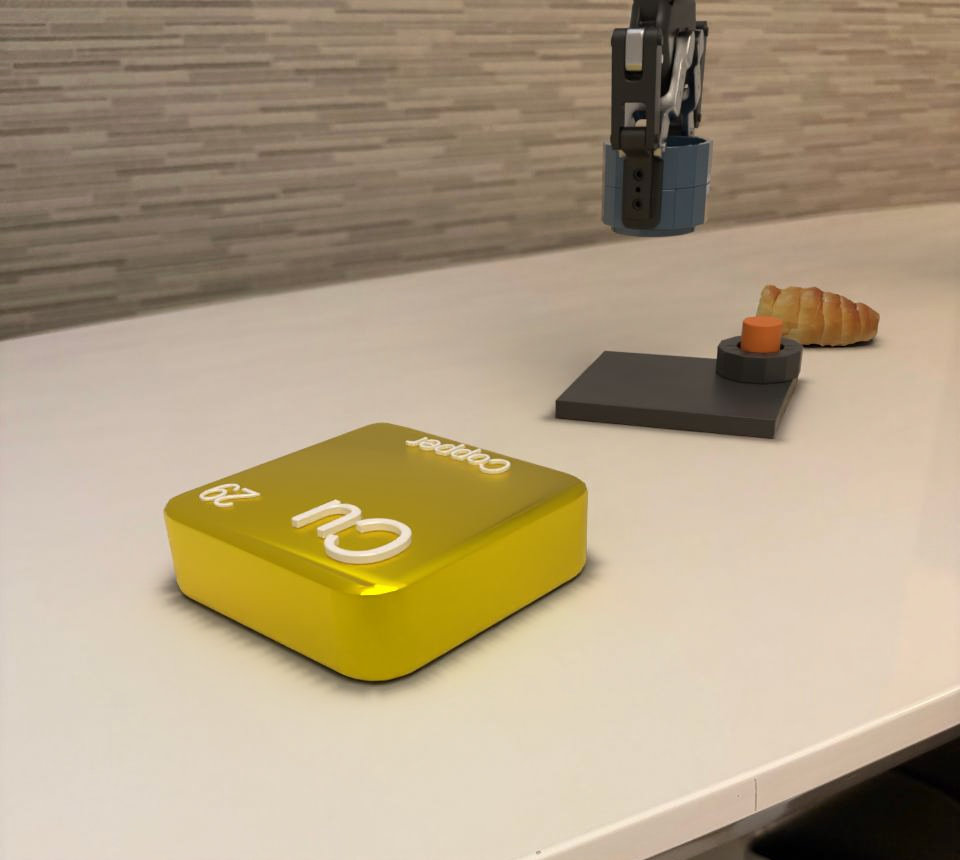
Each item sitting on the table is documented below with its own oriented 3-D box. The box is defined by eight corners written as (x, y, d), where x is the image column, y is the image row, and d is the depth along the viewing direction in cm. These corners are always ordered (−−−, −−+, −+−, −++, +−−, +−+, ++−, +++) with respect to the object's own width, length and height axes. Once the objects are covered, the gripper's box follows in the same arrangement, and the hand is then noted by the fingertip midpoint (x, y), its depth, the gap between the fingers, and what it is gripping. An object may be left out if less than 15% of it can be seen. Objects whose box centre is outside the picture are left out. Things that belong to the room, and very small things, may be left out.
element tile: (603, 564, 52) (606, 470, 50) (377, 697, 42) (368, 590, 40) (387, 490, 61) (381, 407, 58) (160, 587, 51) (141, 493, 49)
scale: (801, 380, 76) (807, 337, 74) (777, 439, 66) (783, 391, 64) (604, 365, 80) (605, 324, 79) (554, 418, 70) (555, 372, 69)
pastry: (877, 329, 86) (884, 280, 84) (875, 353, 81) (883, 301, 79) (757, 323, 89) (762, 275, 87) (747, 346, 84) (752, 296, 82)
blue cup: (714, 222, 69) (721, 135, 66) (694, 241, 63) (700, 148, 61) (616, 218, 71) (619, 134, 68) (589, 236, 65) (591, 147, 63)
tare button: (782, 347, 74) (785, 317, 73) (776, 357, 72) (780, 326, 71) (743, 344, 74) (746, 314, 73) (737, 355, 72) (740, 324, 71)
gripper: (635, -98, 65) (624, 198, 74) (564, -116, 54) (561, 236, 62) (761, -106, 63) (735, 201, 71) (716, -127, 51) (691, 242, 60)
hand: (654, 216), depth 67 cm, fingers closed on blue cup, 6 cm apart
